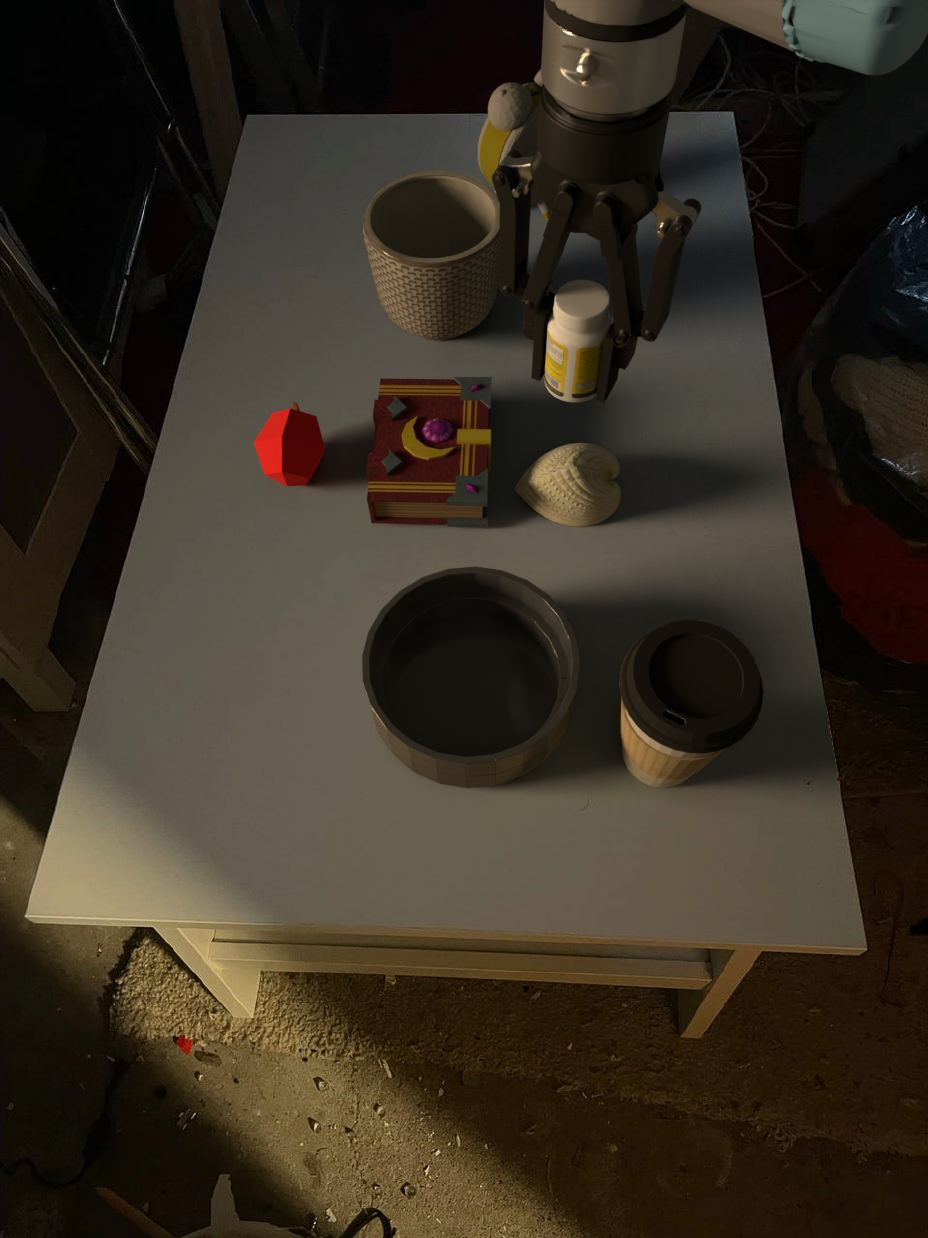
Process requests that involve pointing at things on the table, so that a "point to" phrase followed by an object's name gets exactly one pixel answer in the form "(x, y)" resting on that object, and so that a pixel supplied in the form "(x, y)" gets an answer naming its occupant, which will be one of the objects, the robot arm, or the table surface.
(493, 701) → the bowl
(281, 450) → the apple
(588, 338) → the supplement bottle
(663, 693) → the coffee cup
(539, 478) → the seashell
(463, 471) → the decorative book
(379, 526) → the table surface
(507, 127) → the alarm clock
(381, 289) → the planter
